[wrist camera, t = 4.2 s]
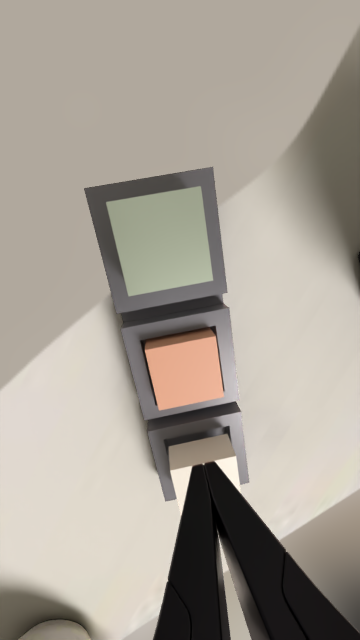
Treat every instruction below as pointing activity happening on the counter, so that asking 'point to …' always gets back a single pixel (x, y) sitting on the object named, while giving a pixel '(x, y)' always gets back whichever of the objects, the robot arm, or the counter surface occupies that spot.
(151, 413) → the button bank
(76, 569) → the counter surface
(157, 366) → the terracotta button
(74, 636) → the teacup
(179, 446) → the cream button
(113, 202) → the sage button
